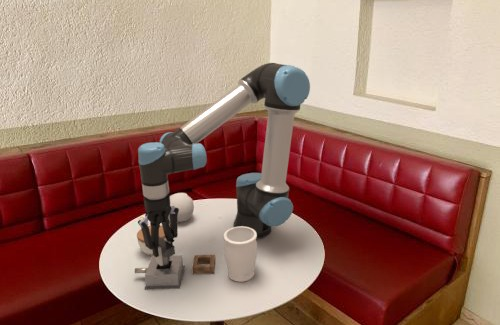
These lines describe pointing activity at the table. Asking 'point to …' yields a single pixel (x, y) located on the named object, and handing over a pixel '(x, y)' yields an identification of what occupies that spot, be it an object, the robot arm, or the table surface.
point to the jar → (240, 252)
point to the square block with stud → (163, 274)
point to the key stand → (203, 268)
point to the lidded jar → (142, 242)
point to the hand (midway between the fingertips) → (164, 261)
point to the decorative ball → (182, 206)
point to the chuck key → (166, 252)
